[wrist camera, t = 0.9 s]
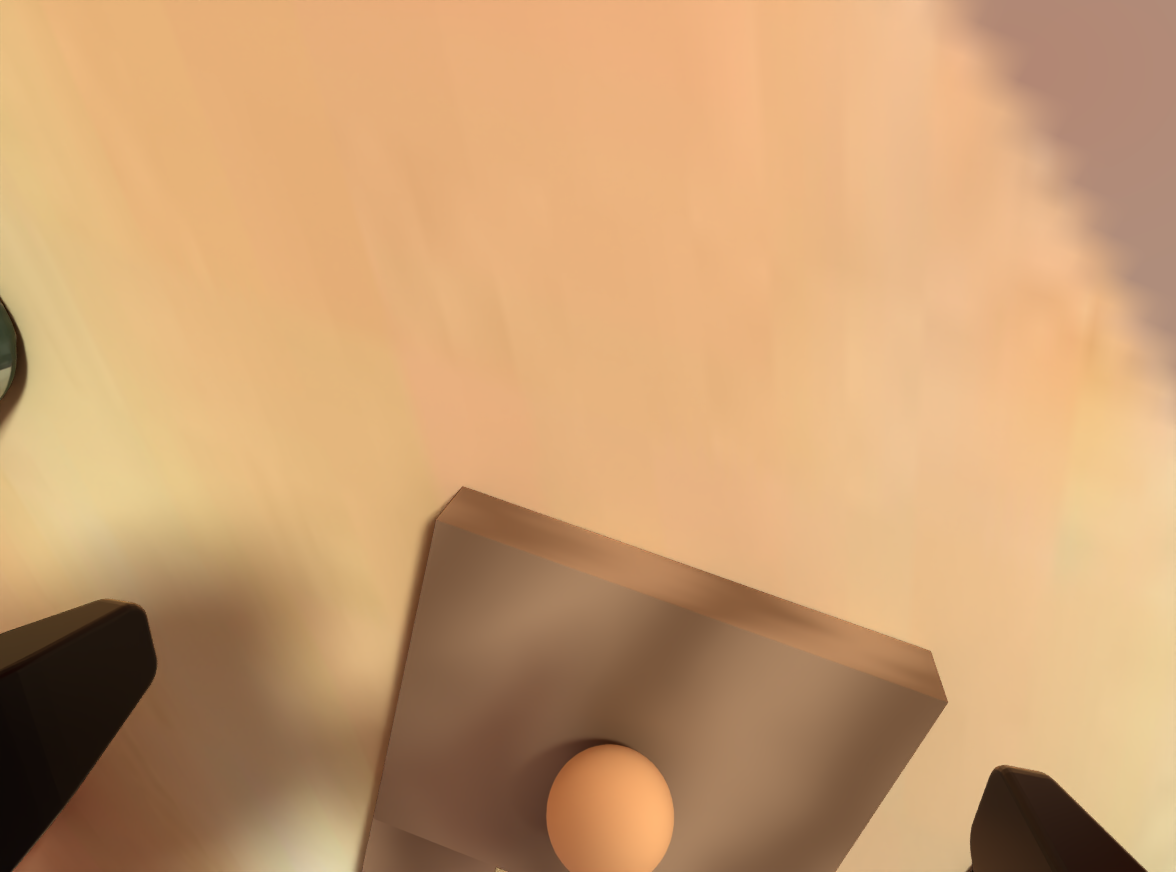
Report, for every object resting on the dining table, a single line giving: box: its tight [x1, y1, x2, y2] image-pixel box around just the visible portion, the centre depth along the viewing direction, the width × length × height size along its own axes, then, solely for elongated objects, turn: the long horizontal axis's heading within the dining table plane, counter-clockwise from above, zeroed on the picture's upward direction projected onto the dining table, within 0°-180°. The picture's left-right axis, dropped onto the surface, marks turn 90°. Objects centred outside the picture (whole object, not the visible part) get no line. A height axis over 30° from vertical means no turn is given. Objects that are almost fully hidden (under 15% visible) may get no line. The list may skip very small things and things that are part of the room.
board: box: [362, 487, 948, 872], centre depth 25 cm, size 14×22×2 cm, turn 164°
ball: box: [546, 744, 674, 872], centre depth 20 cm, size 4×4×4 cm
